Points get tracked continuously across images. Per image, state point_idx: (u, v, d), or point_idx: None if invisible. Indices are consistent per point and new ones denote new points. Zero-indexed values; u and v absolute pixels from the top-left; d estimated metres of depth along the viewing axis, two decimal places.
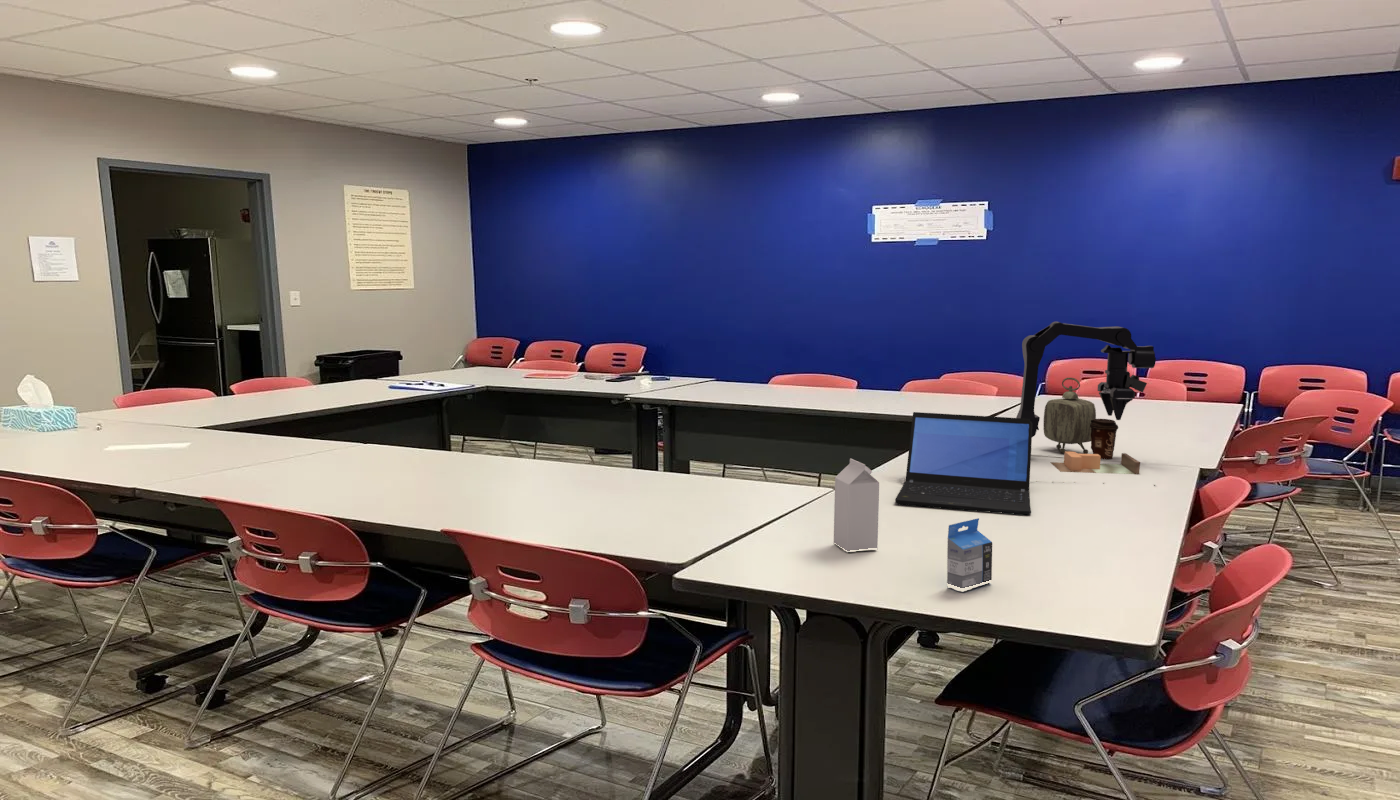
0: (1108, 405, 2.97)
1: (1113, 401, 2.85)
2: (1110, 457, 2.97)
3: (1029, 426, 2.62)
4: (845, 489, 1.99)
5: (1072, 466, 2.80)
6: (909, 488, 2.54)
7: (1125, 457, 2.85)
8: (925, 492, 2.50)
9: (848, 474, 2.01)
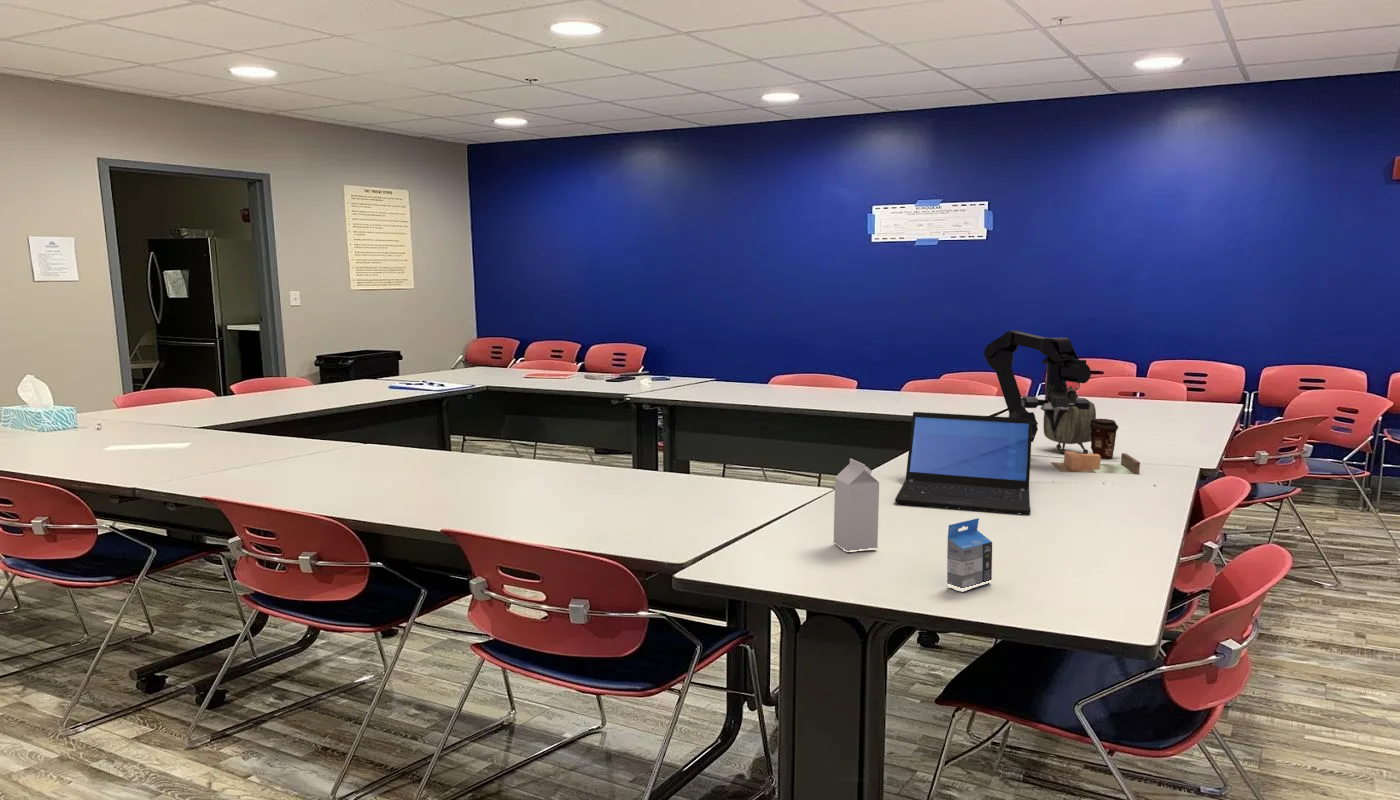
0: (1054, 420, 2.84)
1: (1045, 410, 2.86)
2: (1110, 457, 2.97)
3: (1028, 425, 2.63)
4: (845, 489, 1.99)
5: (1072, 466, 2.80)
6: (909, 488, 2.55)
7: (1125, 457, 2.85)
8: (925, 491, 2.51)
9: (848, 474, 2.01)
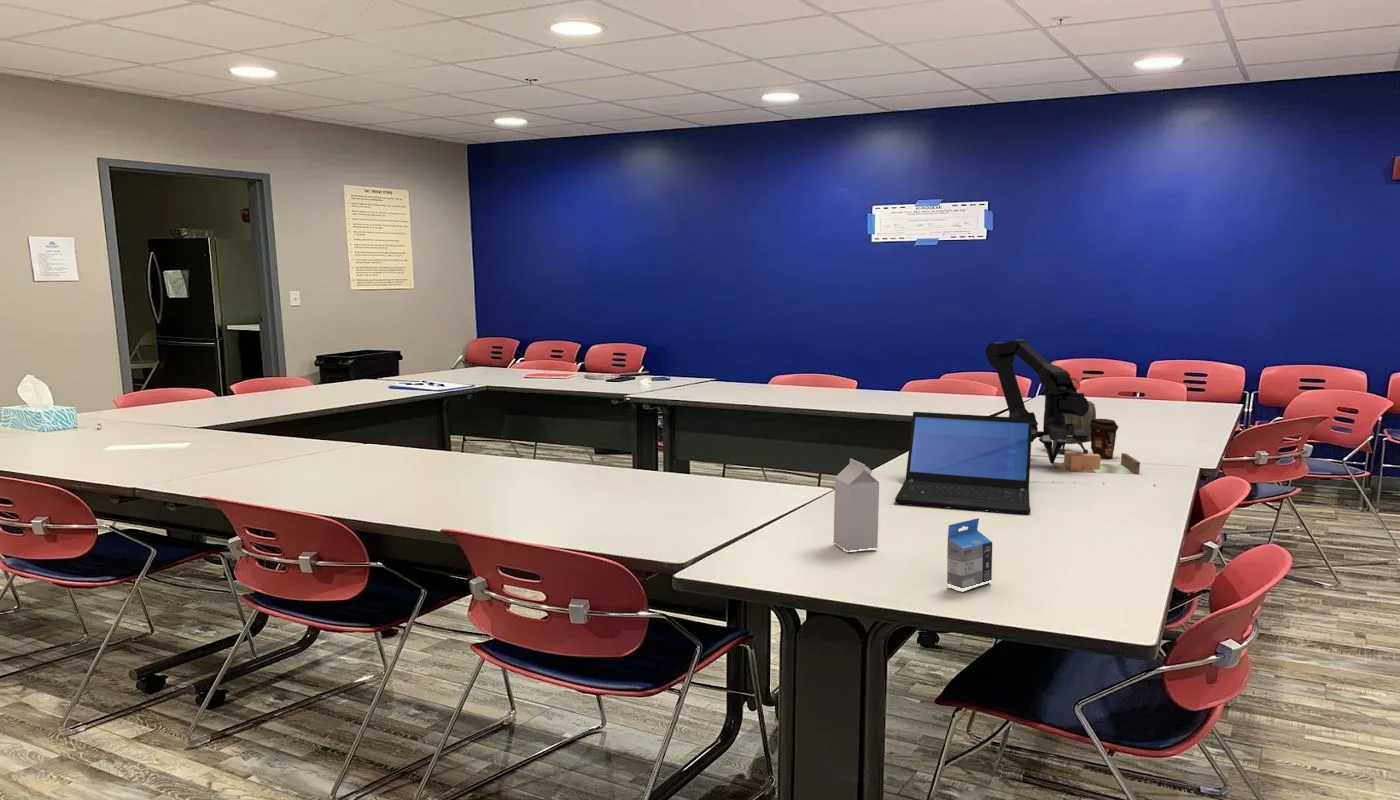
0: (1052, 452, 2.85)
1: None
2: (1110, 457, 2.97)
3: (1028, 425, 2.63)
4: (845, 489, 1.99)
5: (1072, 466, 2.80)
6: (909, 487, 2.55)
7: (1125, 457, 2.85)
8: (925, 491, 2.51)
9: (848, 474, 2.01)
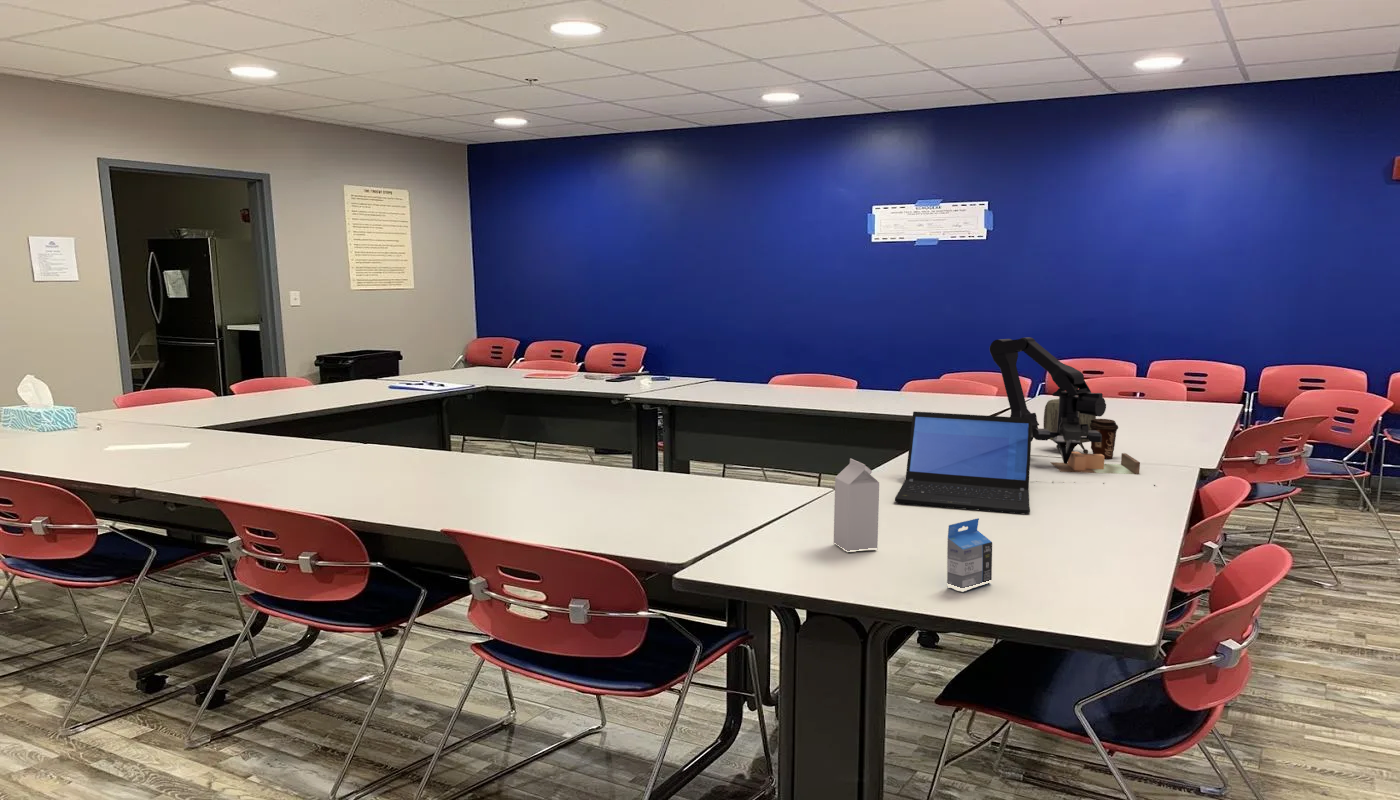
0: (1066, 452, 2.85)
1: None
2: (1110, 457, 2.97)
3: (1028, 425, 2.63)
4: (845, 489, 1.99)
5: (1076, 466, 2.80)
6: (909, 487, 2.55)
7: (1125, 457, 2.85)
8: (925, 491, 2.51)
9: (848, 474, 2.01)
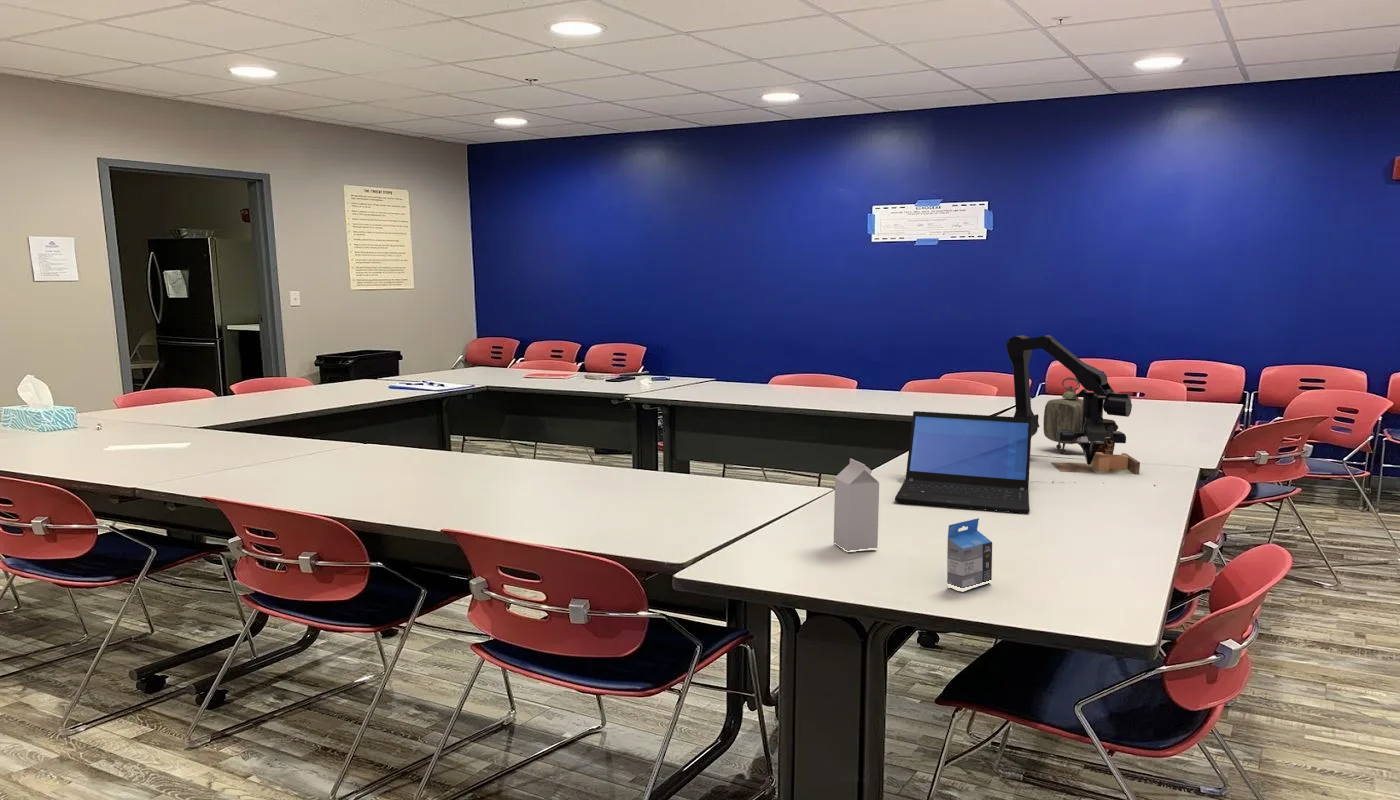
0: None
1: None
2: None
3: (1028, 425, 2.64)
4: (845, 489, 1.99)
5: (1100, 467, 2.79)
6: (909, 486, 2.56)
7: None
8: (925, 490, 2.52)
9: (848, 474, 2.01)
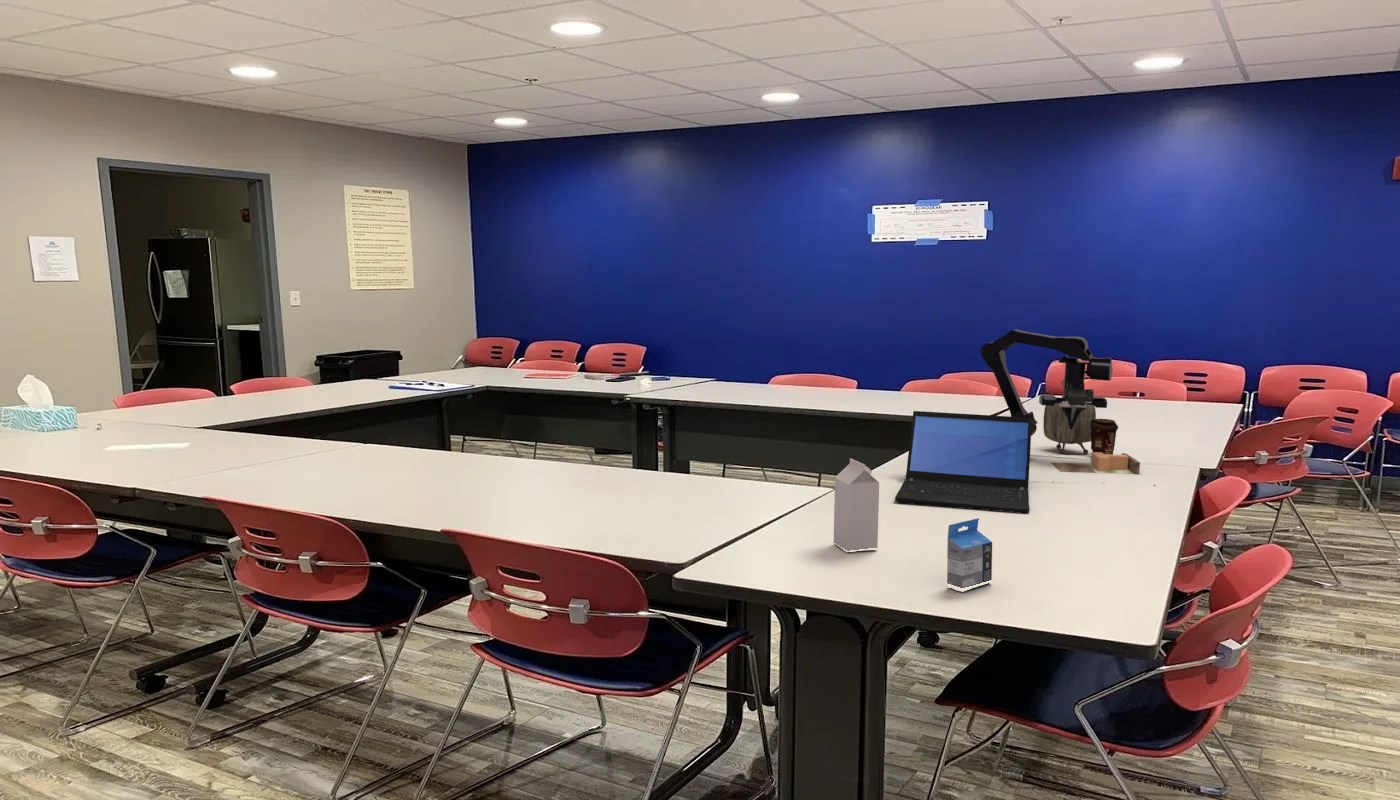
0: (1071, 418, 2.89)
1: None
2: None
3: (1028, 424, 2.64)
4: (845, 489, 1.99)
5: (1100, 467, 2.79)
6: (909, 486, 2.56)
7: None
8: (925, 490, 2.52)
9: (848, 474, 2.01)
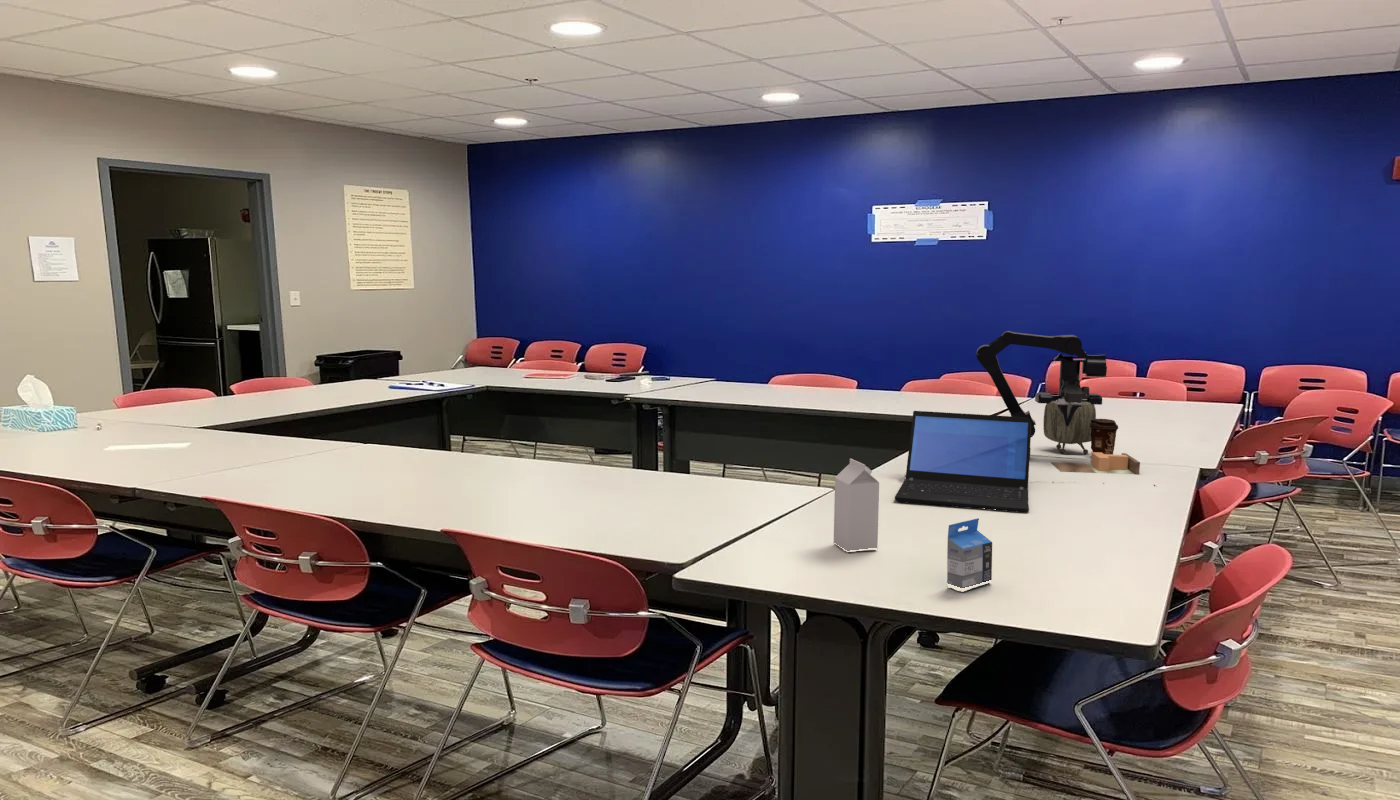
0: (1067, 415, 2.93)
1: (1058, 405, 2.95)
2: None
3: (1028, 424, 2.65)
4: (845, 489, 1.99)
5: (1100, 467, 2.79)
6: (909, 486, 2.57)
7: None
8: (924, 490, 2.53)
9: (848, 474, 2.01)
